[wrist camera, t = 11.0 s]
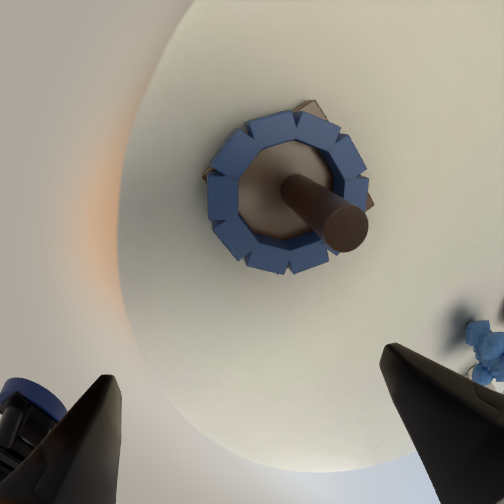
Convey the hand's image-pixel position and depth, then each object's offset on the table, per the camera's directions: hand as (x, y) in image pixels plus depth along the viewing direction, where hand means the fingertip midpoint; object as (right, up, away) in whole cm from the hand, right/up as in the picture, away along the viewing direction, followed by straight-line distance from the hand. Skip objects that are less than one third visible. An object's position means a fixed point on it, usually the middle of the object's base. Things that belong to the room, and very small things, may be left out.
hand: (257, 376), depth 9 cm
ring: (+2, +7, +9) cm, 12 cm away
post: (+2, +8, +10) cm, 13 cm away
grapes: (+24, -5, +20) cm, 32 cm away
